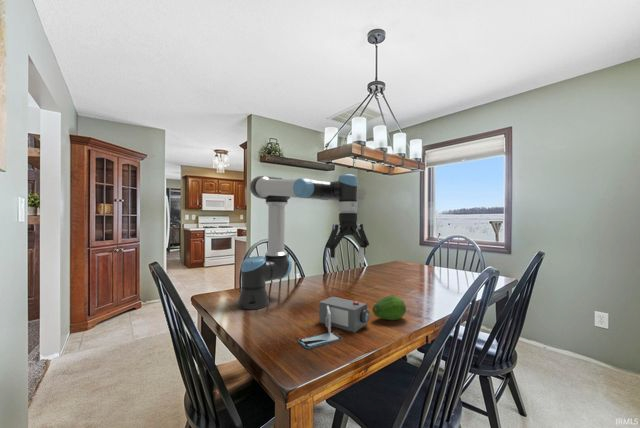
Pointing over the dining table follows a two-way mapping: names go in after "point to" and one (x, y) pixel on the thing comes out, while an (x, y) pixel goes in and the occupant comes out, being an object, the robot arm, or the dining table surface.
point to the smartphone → (319, 340)
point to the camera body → (344, 313)
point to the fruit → (389, 308)
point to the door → (328, 319)
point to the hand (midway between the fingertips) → (348, 264)
